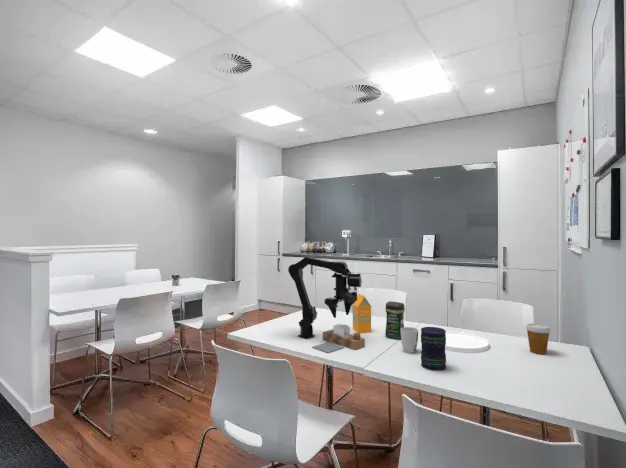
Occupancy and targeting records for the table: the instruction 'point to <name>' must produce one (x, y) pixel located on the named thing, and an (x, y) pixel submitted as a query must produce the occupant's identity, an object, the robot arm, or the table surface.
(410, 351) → the cup
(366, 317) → the orange juice
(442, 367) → the storage jar
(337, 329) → the lever cap
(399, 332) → the coffee jar
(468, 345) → the plate
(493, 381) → the table surface
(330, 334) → the hand plane
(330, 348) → the rubber mat
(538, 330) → the disposable coffee cup
